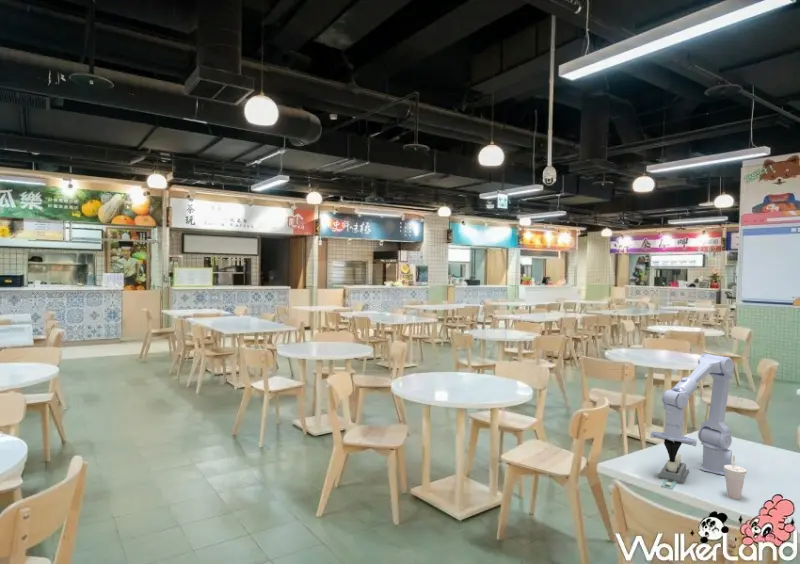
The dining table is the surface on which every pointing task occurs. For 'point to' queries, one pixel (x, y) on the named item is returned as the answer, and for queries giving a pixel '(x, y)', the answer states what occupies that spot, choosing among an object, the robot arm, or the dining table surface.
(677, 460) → the button mid
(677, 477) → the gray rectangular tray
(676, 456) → the button
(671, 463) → the button
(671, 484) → the card
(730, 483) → the smoothie
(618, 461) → the dining table surface
